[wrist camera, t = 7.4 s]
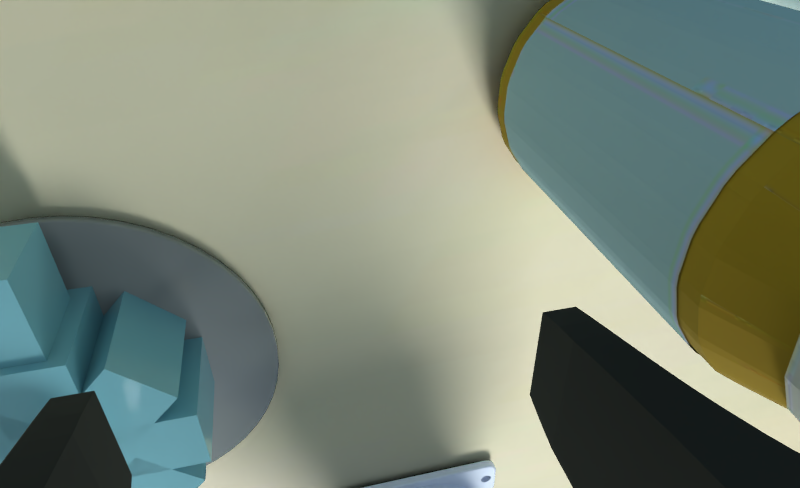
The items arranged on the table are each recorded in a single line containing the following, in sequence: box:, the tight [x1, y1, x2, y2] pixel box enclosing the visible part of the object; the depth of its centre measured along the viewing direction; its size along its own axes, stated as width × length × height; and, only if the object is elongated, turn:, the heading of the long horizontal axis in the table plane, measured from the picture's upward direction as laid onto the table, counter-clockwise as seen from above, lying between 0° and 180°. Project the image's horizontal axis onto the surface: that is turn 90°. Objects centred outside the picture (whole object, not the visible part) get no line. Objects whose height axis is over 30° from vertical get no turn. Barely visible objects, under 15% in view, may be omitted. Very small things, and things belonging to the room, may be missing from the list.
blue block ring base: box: [0, 216, 279, 488], centre depth 19 cm, size 13×13×4 cm
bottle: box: [497, 0, 800, 422], centre depth 13 cm, size 7×7×15 cm
